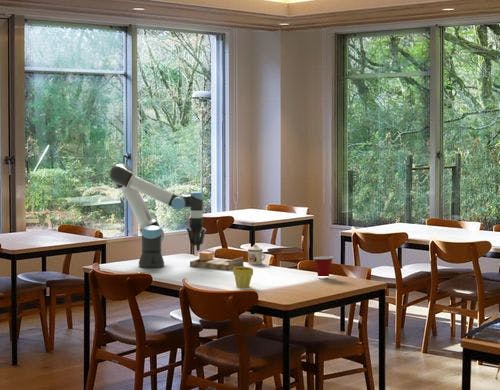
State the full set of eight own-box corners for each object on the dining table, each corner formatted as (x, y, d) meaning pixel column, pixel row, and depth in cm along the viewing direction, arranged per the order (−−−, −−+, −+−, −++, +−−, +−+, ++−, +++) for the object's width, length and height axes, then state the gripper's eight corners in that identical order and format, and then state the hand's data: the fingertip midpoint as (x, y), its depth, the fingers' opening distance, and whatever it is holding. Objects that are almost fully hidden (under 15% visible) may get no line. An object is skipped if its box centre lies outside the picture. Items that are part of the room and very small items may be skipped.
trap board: (189, 266, 545) (189, 257, 545) (204, 262, 560) (204, 253, 560) (229, 270, 533) (229, 260, 533) (243, 266, 548) (243, 257, 548)
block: (199, 259, 554) (199, 252, 553) (204, 257, 559) (204, 251, 559) (207, 260, 551) (207, 253, 551) (212, 258, 556) (212, 252, 556)
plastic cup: (319, 275, 518) (320, 254, 517) (336, 277, 512) (336, 256, 511) (309, 278, 509) (309, 256, 508) (326, 280, 503) (326, 258, 502)
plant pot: (255, 288, 478) (255, 269, 477) (236, 289, 475) (236, 270, 474) (249, 284, 488) (249, 266, 487) (230, 285, 485) (231, 267, 484)
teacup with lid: (244, 263, 558) (244, 244, 557) (253, 262, 565) (254, 243, 564) (260, 265, 550) (260, 246, 549) (269, 264, 557) (269, 245, 556)
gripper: (208, 217, 556) (208, 255, 558) (190, 216, 562) (190, 254, 564) (202, 218, 550) (202, 257, 552) (184, 217, 556) (184, 255, 558)
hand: (196, 255), depth 558 cm, fingers closed
